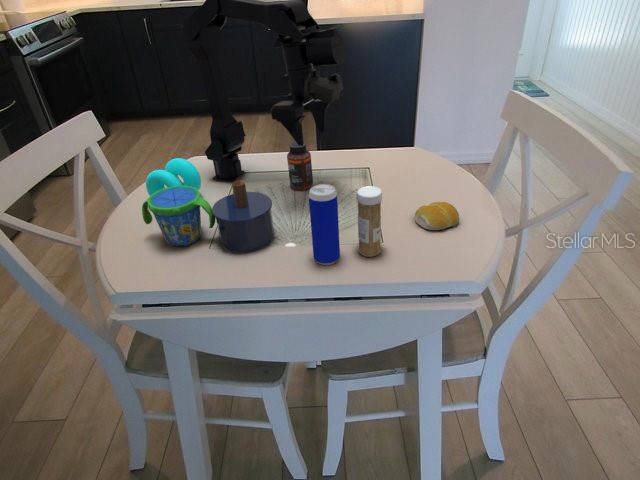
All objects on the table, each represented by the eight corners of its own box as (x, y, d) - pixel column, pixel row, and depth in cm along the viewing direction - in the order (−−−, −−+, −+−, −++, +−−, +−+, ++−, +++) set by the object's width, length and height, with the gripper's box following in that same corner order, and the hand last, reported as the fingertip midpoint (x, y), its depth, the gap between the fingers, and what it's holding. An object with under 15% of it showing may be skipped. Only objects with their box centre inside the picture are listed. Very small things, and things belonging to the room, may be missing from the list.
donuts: (149, 208, 112) (138, 170, 107) (174, 190, 120) (165, 154, 114) (183, 213, 109) (173, 175, 103) (206, 195, 116) (198, 158, 111)
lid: (201, 220, 92) (194, 192, 88) (233, 193, 101) (228, 167, 98) (254, 229, 88) (249, 201, 84) (282, 200, 97) (279, 173, 94)
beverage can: (343, 253, 91) (340, 184, 83) (335, 267, 87) (331, 197, 79) (318, 249, 93) (313, 182, 84) (310, 264, 89) (303, 194, 80)
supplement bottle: (314, 180, 120) (311, 139, 114) (312, 191, 115) (308, 148, 109) (292, 181, 120) (287, 139, 114) (288, 191, 115) (283, 148, 109)
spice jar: (384, 255, 89) (385, 194, 82) (361, 259, 89) (361, 197, 81) (376, 243, 93) (377, 183, 86) (355, 247, 93) (353, 187, 85)
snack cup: (227, 229, 101) (219, 188, 96) (203, 256, 93) (193, 212, 88) (167, 222, 106) (156, 182, 100) (139, 246, 97) (125, 204, 92)
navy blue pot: (211, 247, 96) (204, 216, 92) (238, 221, 104) (233, 192, 100) (258, 256, 92) (252, 224, 88) (282, 228, 100) (279, 198, 96)
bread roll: (465, 223, 98) (467, 206, 95) (431, 235, 94) (433, 218, 92) (440, 207, 104) (441, 191, 102) (407, 218, 101) (408, 202, 99)
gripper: (308, 76, 87) (321, 154, 94) (353, 55, 100) (361, 125, 107) (261, 79, 92) (277, 152, 100) (310, 59, 105) (320, 125, 113)
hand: (311, 138), depth 105 cm, fingers open, 9 cm apart
